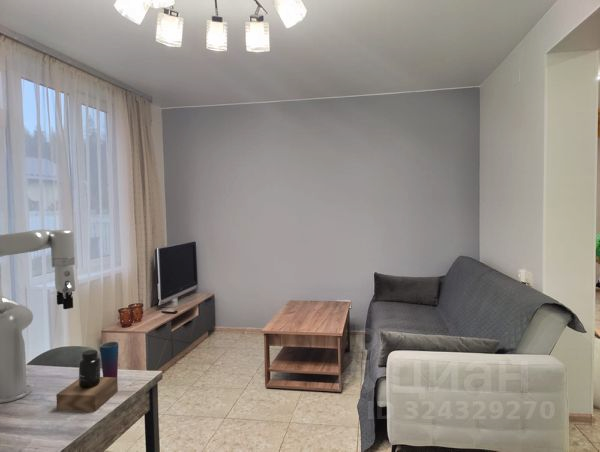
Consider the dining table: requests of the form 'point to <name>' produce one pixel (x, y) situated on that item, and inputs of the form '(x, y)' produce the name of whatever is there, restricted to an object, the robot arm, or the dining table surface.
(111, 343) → the cup
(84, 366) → the supplement bottle
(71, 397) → the walnut block
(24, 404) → the dining table surface
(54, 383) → the dining table surface
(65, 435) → the dining table surface
